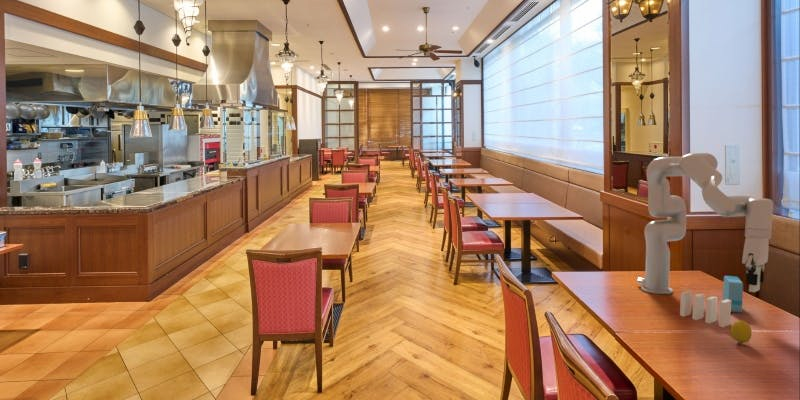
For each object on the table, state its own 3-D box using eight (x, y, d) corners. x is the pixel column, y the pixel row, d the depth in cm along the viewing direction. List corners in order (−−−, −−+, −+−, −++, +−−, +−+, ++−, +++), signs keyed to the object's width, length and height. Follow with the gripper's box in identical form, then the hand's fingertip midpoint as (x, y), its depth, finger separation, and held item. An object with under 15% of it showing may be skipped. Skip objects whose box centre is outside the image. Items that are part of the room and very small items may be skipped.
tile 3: (705, 322, 178) (706, 298, 177) (711, 319, 181) (712, 296, 180) (709, 323, 177) (711, 299, 176) (716, 320, 179) (717, 297, 178)
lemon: (726, 340, 161) (727, 317, 160) (741, 340, 161) (743, 316, 161) (739, 347, 156) (740, 323, 155) (755, 346, 156) (756, 322, 155)
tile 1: (679, 315, 185) (681, 292, 184) (686, 312, 188) (687, 290, 187) (684, 316, 184) (685, 293, 183) (690, 314, 187) (691, 291, 186)
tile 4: (718, 326, 174) (720, 301, 173) (725, 323, 177) (726, 299, 176) (723, 327, 173) (725, 302, 172) (730, 324, 176) (731, 300, 175)
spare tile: (748, 291, 173) (750, 266, 172) (754, 288, 176) (756, 264, 175) (754, 292, 172) (755, 267, 171) (759, 289, 175) (761, 265, 174)
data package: (741, 313, 186) (743, 283, 185) (727, 312, 188) (729, 282, 187) (735, 304, 197) (737, 275, 196) (722, 303, 199) (723, 274, 198)
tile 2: (692, 318, 182) (693, 295, 181) (698, 316, 184) (700, 293, 183) (696, 320, 180) (698, 296, 179) (703, 317, 183) (704, 294, 182)
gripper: (755, 229, 180) (752, 277, 182) (735, 234, 170) (732, 284, 172) (779, 231, 174) (776, 281, 176) (761, 237, 164) (757, 289, 166)
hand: (754, 282), depth 174 cm, fingers closed on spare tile, 4 cm apart
